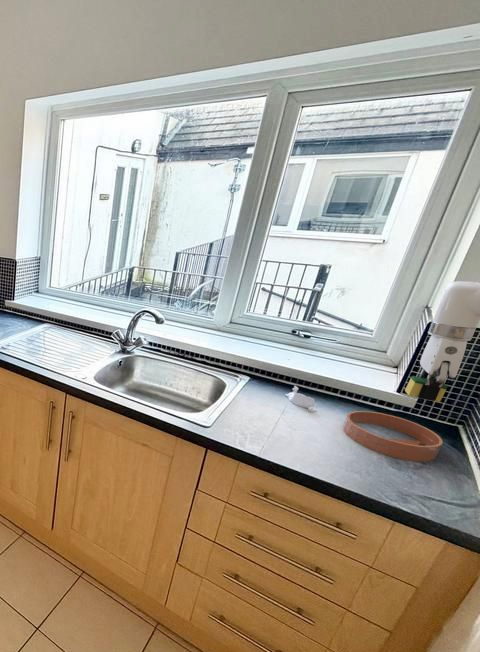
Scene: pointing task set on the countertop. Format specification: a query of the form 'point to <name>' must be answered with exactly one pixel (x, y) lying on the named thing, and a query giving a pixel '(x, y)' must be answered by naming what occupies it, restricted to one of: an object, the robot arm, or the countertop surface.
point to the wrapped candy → (301, 399)
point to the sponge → (416, 385)
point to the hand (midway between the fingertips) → (423, 395)
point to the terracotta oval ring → (392, 446)
